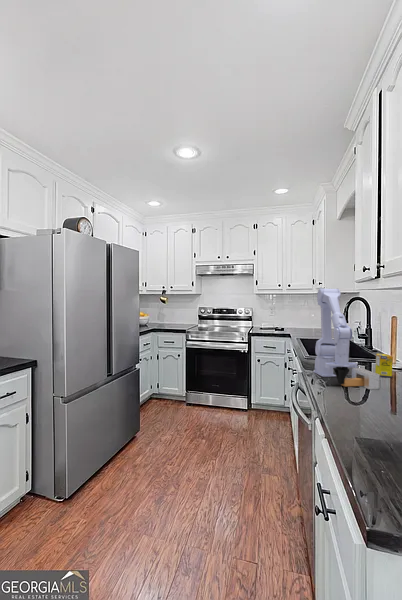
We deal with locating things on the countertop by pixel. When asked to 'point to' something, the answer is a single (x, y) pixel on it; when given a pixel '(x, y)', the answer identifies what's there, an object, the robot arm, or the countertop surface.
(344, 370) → the robot arm
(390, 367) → the supplement box
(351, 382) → the plug
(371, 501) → the countertop surface
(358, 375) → the housing
